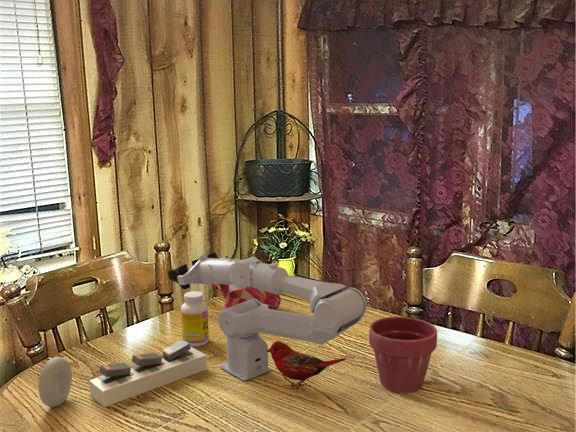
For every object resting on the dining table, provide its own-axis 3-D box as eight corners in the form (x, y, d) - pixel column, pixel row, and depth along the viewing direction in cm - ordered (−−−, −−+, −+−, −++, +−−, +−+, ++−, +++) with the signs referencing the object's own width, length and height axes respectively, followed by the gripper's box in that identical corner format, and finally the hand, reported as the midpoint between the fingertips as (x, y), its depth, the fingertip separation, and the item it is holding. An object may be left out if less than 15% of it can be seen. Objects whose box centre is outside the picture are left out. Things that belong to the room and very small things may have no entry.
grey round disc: (61, 391, 133) (57, 348, 131) (76, 392, 133) (72, 349, 130) (37, 416, 123) (32, 369, 121) (54, 417, 123) (49, 370, 121)
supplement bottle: (206, 347, 154) (204, 298, 151) (180, 347, 154) (177, 298, 151) (210, 336, 161) (208, 289, 158) (185, 337, 161) (182, 289, 158)
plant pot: (412, 363, 144) (413, 311, 141) (448, 391, 131) (451, 334, 128) (357, 375, 138) (357, 321, 136) (389, 404, 126) (390, 345, 123)
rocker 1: (130, 374, 133) (130, 367, 132) (105, 377, 129) (106, 370, 129) (123, 369, 135) (124, 362, 135) (99, 372, 131) (100, 365, 131)
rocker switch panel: (206, 369, 142) (206, 353, 141) (104, 407, 126) (102, 389, 125) (191, 360, 147) (190, 344, 146) (90, 395, 131) (89, 378, 130)
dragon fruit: (274, 299, 186) (211, 278, 182) (289, 272, 178) (223, 250, 174) (269, 335, 175) (202, 314, 171) (285, 308, 167) (215, 285, 164)
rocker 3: (190, 348, 142) (189, 343, 142) (170, 360, 139) (169, 354, 138) (183, 344, 144) (182, 338, 144) (163, 355, 141) (161, 350, 141)
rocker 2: (161, 363, 137) (162, 357, 137) (138, 366, 134) (139, 359, 134) (153, 358, 140) (154, 352, 140) (131, 361, 136) (132, 354, 136)
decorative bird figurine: (263, 385, 133) (265, 339, 133) (343, 384, 136) (345, 339, 136) (265, 390, 130) (267, 343, 130) (347, 388, 133) (349, 342, 133)
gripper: (237, 245, 147) (200, 245, 156) (192, 264, 136) (154, 263, 145) (243, 273, 148) (206, 272, 157) (199, 294, 137) (161, 291, 146)
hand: (181, 269), depth 151 cm, fingers open, 7 cm apart
